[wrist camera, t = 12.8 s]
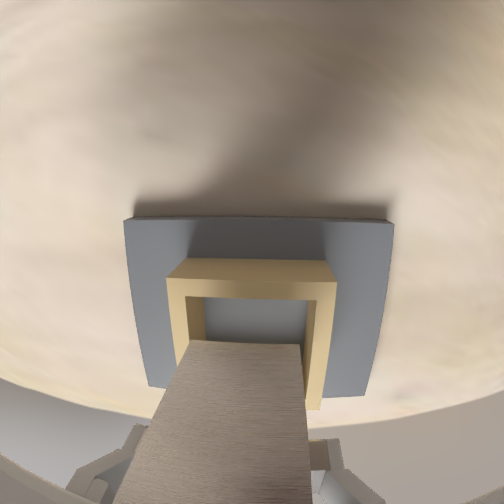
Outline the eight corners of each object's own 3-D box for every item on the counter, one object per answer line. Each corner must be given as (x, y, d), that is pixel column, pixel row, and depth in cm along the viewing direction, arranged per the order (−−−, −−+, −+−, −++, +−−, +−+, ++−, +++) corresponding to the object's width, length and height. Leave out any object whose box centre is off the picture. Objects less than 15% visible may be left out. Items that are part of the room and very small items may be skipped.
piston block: (299, 344, 13) (314, 561, 4) (291, 419, 15) (292, 589, 5) (191, 339, 14) (99, 528, 4) (200, 413, 15) (150, 572, 5)
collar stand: (386, 220, 20) (420, 237, 14) (360, 384, 23) (375, 429, 18) (132, 217, 21) (92, 232, 16) (154, 376, 25) (131, 416, 19)
